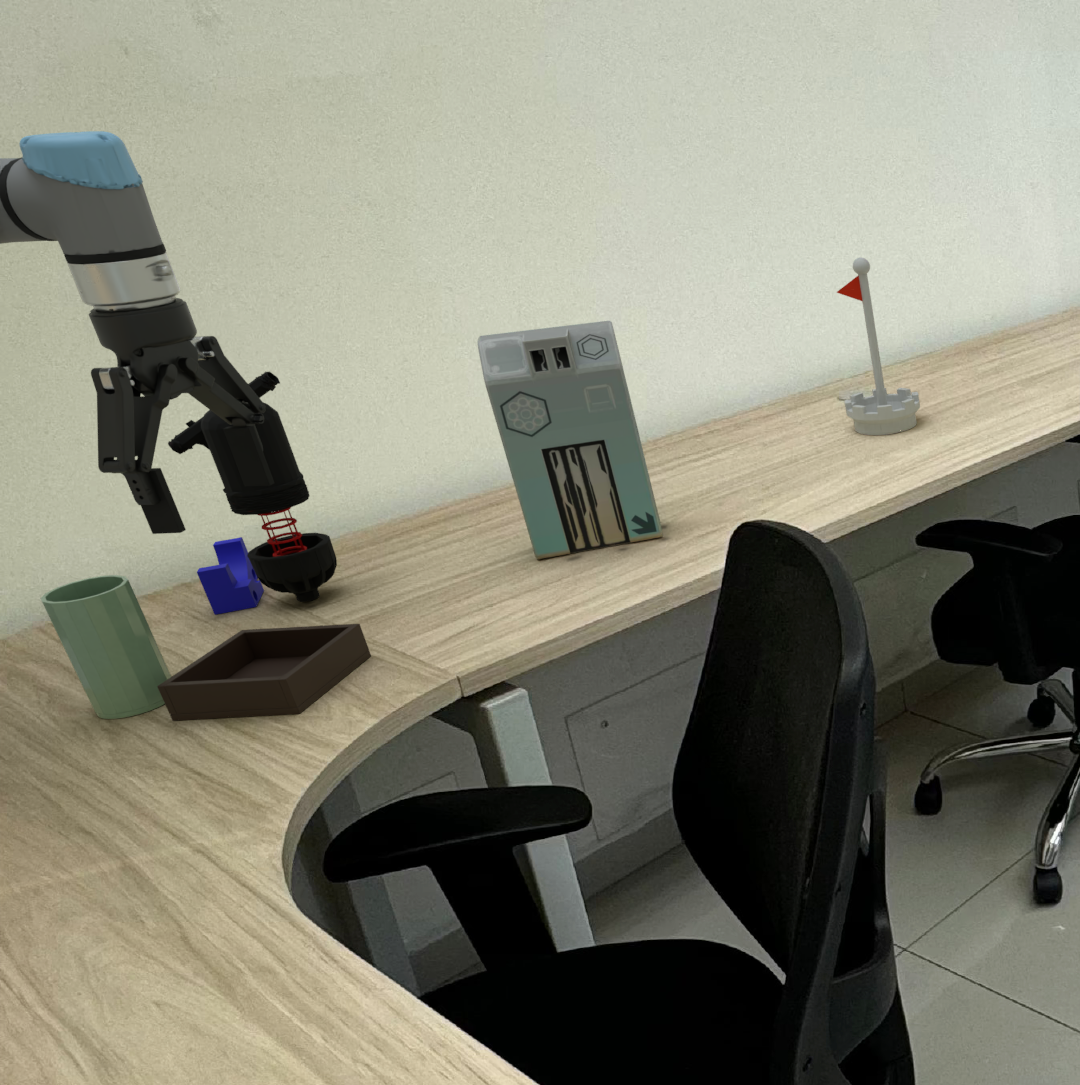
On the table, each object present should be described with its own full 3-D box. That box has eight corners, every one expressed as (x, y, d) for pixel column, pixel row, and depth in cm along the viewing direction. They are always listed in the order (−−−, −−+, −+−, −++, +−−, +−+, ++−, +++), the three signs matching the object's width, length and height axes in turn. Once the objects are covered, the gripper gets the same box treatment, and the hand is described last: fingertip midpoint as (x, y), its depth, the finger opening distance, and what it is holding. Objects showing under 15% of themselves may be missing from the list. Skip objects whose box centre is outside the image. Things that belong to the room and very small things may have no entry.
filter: (366, 578, 168) (288, 361, 156) (346, 605, 160) (262, 378, 148) (250, 595, 165) (161, 374, 152) (225, 623, 157) (128, 392, 144)
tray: (172, 721, 134) (156, 686, 132) (254, 662, 146) (241, 629, 144) (299, 714, 134) (285, 679, 132) (371, 655, 146) (359, 623, 145)
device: (536, 561, 171) (474, 347, 159) (538, 543, 178) (478, 336, 165) (663, 538, 178) (612, 330, 165) (660, 521, 184) (611, 320, 171)
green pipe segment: (79, 720, 135) (22, 604, 129) (129, 688, 141) (77, 576, 135) (146, 717, 135) (92, 601, 129) (193, 685, 141) (144, 573, 135)
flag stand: (901, 411, 233) (877, 248, 220) (935, 425, 224) (912, 256, 211) (836, 426, 226) (808, 258, 213) (869, 441, 216) (841, 267, 204)
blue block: (256, 606, 161) (239, 564, 158) (214, 614, 159) (196, 572, 157) (271, 575, 171) (255, 534, 168) (231, 582, 169) (215, 541, 166)
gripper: (72, 330, 108) (166, 553, 117) (260, 276, 131) (326, 466, 140) (-15, 333, 108) (85, 556, 117) (188, 278, 131) (259, 468, 140)
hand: (216, 507), depth 129 cm, fingers open, 13 cm apart
